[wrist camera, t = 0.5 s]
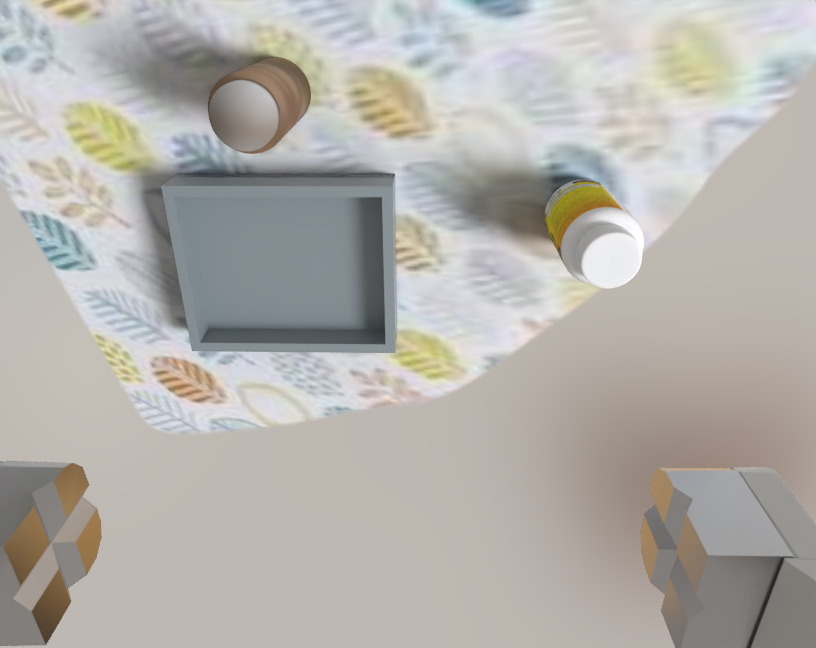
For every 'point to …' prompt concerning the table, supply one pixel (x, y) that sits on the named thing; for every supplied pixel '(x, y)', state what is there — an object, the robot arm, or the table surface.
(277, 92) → the shaker
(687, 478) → the robot arm
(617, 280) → the supplement bottle
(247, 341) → the tray
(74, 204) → the table surface
